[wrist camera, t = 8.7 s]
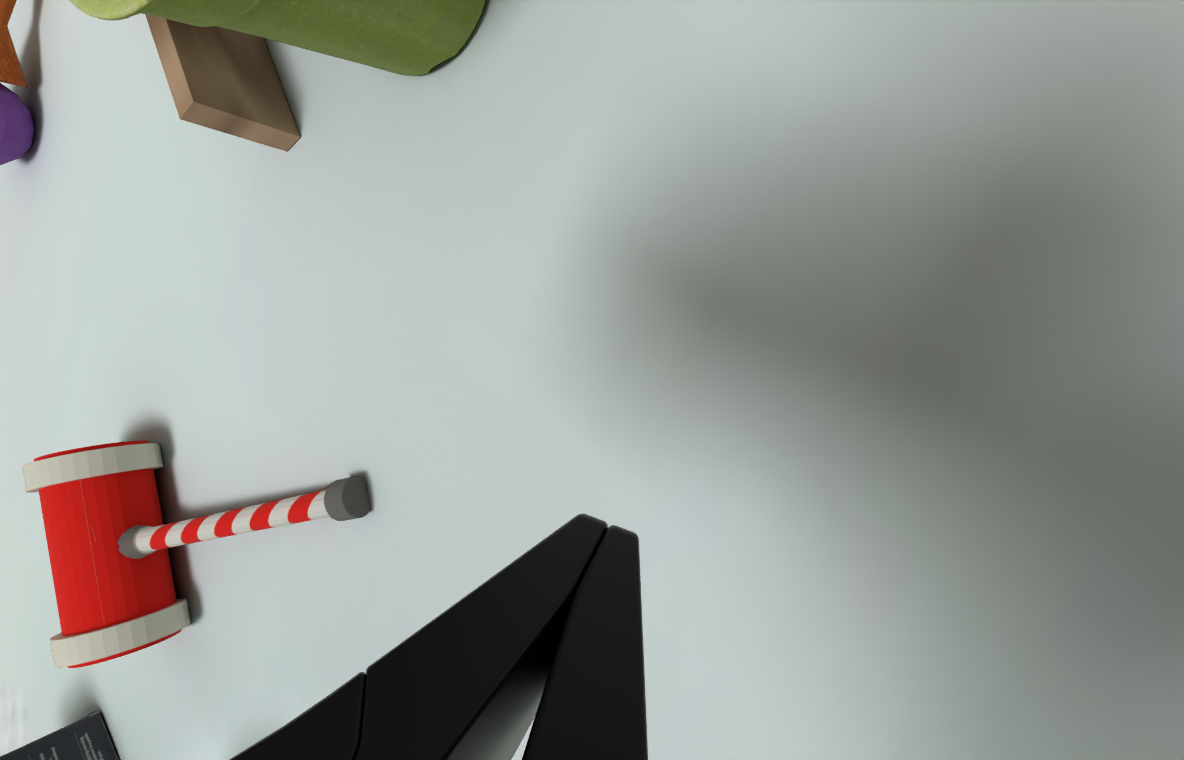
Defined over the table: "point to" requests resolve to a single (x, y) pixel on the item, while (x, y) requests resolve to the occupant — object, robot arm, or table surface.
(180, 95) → the wooden frame
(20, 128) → the kendama
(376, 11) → the plant pot
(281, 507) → the toy hammer
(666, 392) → the table surface
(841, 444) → the table surface
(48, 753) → the small box
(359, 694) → the robot arm
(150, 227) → the table surface
